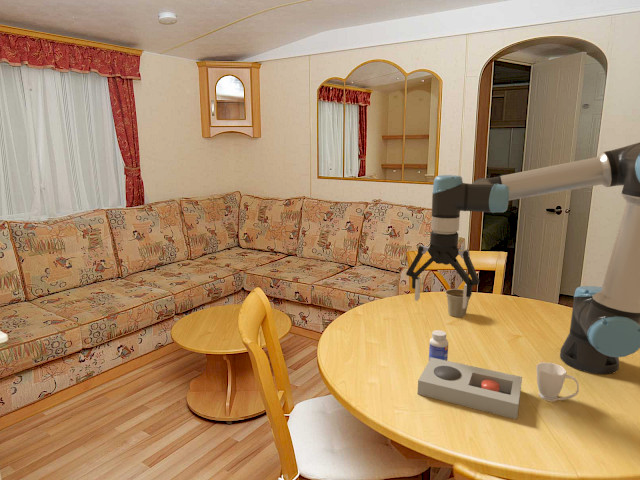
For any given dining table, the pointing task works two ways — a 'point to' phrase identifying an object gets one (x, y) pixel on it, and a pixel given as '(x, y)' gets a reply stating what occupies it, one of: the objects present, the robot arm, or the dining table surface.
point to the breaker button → (490, 385)
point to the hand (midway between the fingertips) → (440, 303)
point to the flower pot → (456, 302)
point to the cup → (552, 381)
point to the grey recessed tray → (470, 387)
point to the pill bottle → (438, 345)
